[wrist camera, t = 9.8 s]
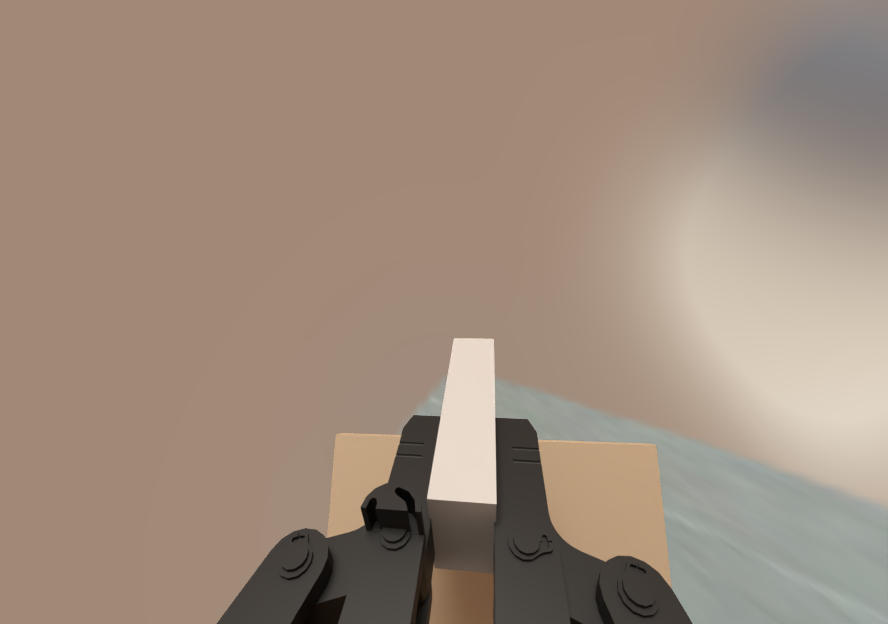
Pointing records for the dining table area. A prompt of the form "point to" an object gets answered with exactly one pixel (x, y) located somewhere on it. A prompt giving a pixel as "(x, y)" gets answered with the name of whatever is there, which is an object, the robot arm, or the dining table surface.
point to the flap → (568, 497)
